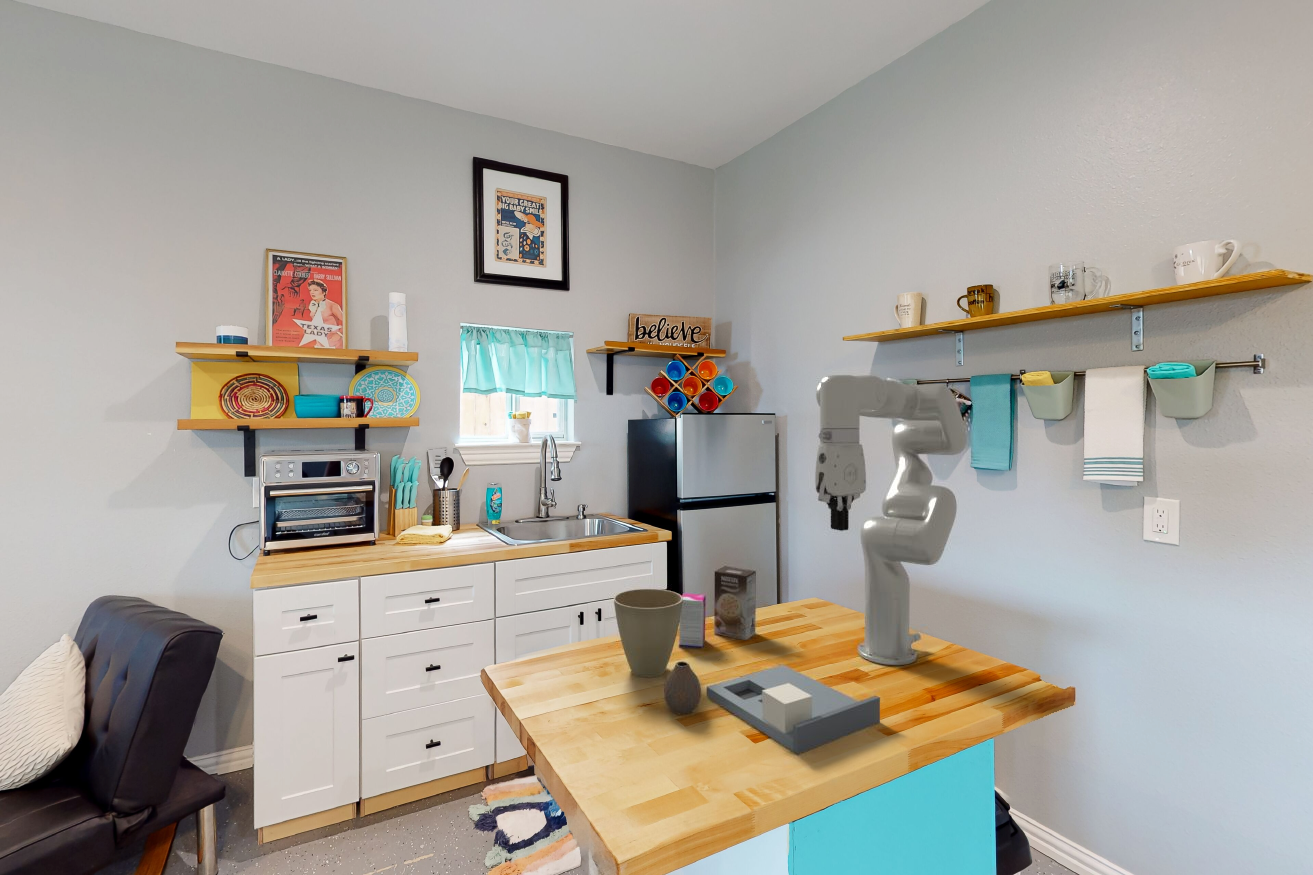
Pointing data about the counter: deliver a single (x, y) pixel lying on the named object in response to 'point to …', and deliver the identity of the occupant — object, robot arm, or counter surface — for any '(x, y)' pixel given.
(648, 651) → the plant pot
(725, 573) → the coffee box
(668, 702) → the vase
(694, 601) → the supplement box
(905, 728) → the counter surface
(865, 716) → the board
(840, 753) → the counter surface
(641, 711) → the counter surface
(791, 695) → the cream block
